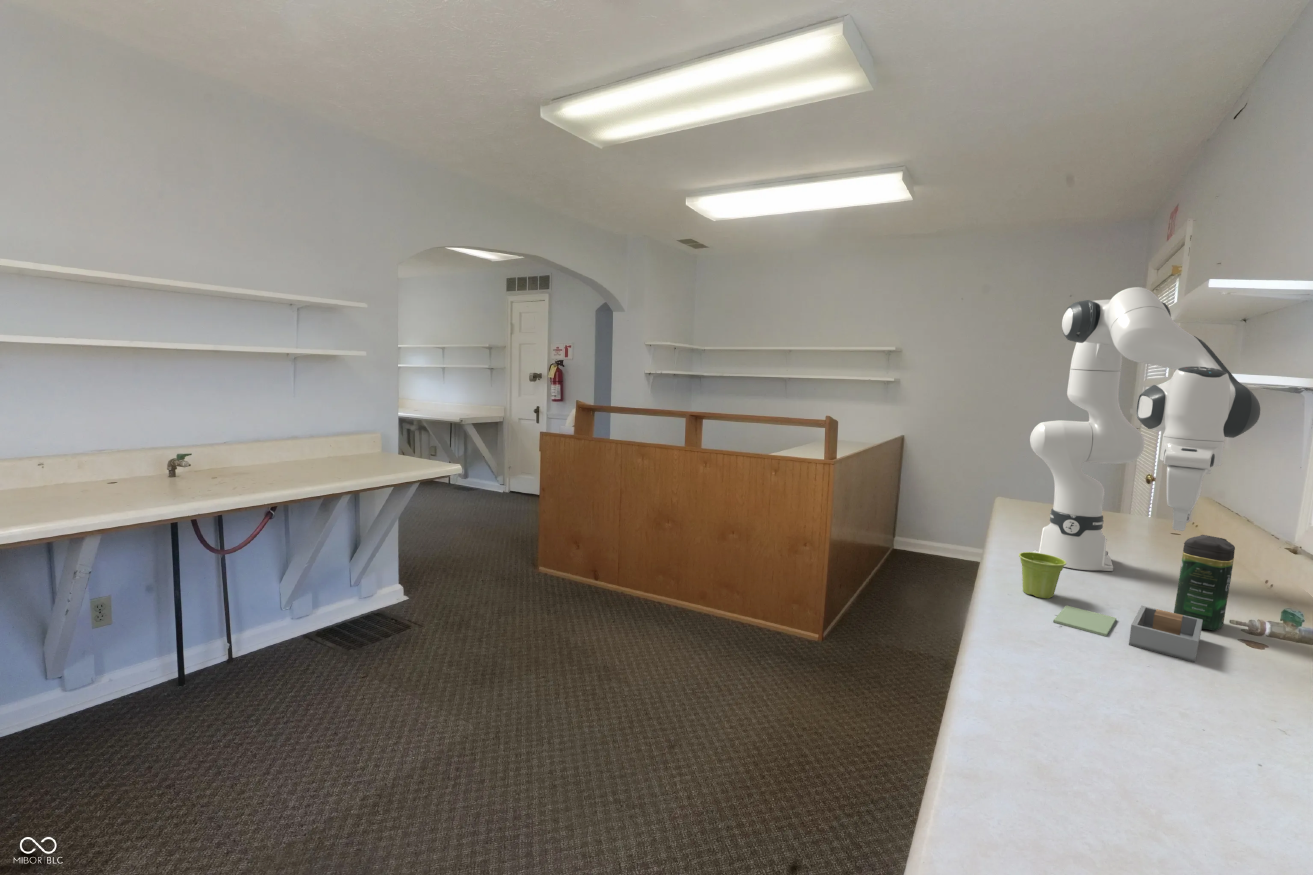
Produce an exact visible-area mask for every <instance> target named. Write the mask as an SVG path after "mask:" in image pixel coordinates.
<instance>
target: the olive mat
mask: <svg viewBox="0 0 1313 875" xmlns="http://www.w3.org/2000/svg"><path fill="white" fill-rule="evenodd" d="M1052 621H1053V623H1055V624H1058V625H1062V626H1066V627H1069V628H1073V629H1077V630H1082V631H1084V632H1088V633H1092V634H1095V635H1098V636H1104V637H1108V634H1109V633H1110V631H1111V630H1112V628H1113V626H1114V624H1115V623H1116V622H1117V617H1115V616H1112V615H1111V616H1110V615H1106V614H1103V613H1099V612H1094V611H1090V610H1087V609H1082V608H1078V607H1074V606H1072V605H1071V606H1070V605H1065V606H1064V607H1063V609H1061V611H1060V612H1059V613H1058V614H1057V615H1056V616H1055V617H1054V619H1053V620H1052Z"/></svg>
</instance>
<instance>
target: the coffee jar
mask: <svg viewBox="0 0 1313 875" xmlns="http://www.w3.org/2000/svg"><path fill="white" fill-rule="evenodd" d="M1235 550H1236V547H1235V545H1234V544H1233V543H1231V541H1230V542H1229V541H1228V540H1227V539H1226V538H1223V537H1217V536H1212V535H1207V534H1200V535H1196V536H1193V537H1189V538H1187V539H1186V540H1185V541H1184V542H1183V549H1182V555H1181V556H1182V558H1181V564H1180V569H1179V570H1180V571H1179V576H1178V584H1177V591H1176V597H1175V601H1174V609H1173V613H1176V614H1181V615H1185V616H1189V617H1193V618H1198V619H1202V620H1203V622H1202V629H1204V630H1210V631H1218V630H1219V629H1221V628H1222V627H1223V626H1224V623H1225V616H1226V610H1227V604H1228V598H1229V592H1230V587H1231V581H1232V574H1233V568H1234V559H1235ZM1202 629H1201V630H1202Z"/></svg>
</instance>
